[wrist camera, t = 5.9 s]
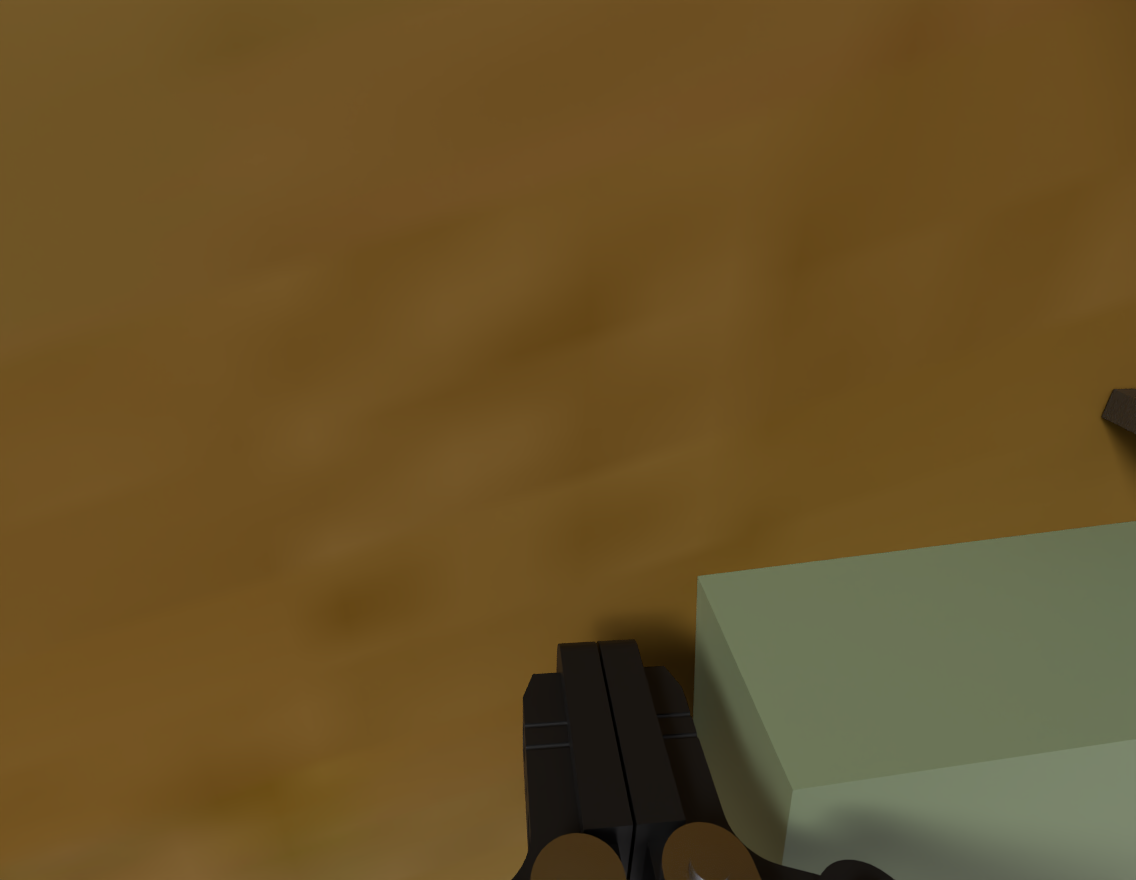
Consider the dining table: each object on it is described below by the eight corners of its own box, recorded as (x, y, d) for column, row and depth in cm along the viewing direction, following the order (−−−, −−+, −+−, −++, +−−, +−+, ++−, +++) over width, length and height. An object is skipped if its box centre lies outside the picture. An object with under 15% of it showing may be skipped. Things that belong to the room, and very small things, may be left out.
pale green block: (695, 572, 14) (793, 790, 9) (1129, 517, 14) (1414, 697, 10) (690, 754, 16) (763, 989, 12) (1055, 702, 17) (1251, 907, 13)
